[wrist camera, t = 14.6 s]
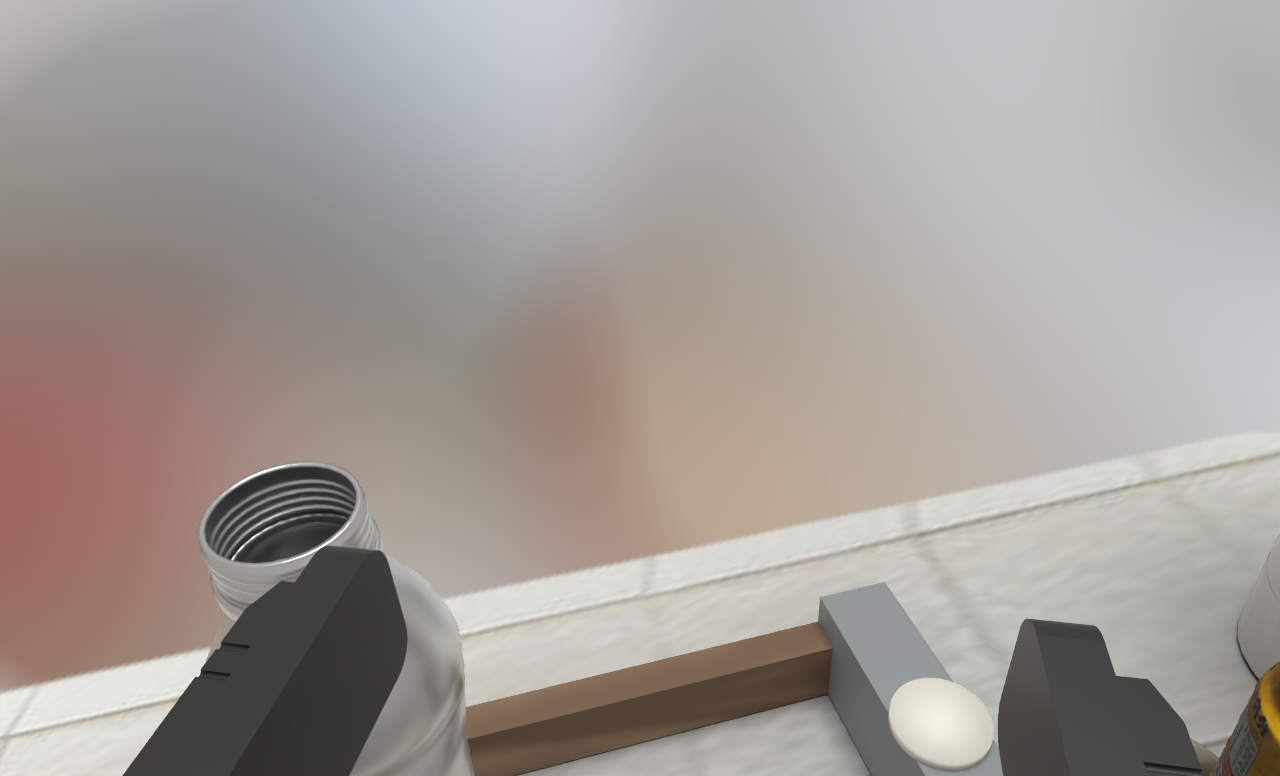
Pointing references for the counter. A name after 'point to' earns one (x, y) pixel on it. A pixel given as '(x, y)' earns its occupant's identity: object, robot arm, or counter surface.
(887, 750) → the grey beam
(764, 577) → the counter surface
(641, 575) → the counter surface
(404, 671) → the plastic bottle
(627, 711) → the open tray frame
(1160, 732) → the robot arm
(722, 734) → the counter surface
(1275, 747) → the condiment
